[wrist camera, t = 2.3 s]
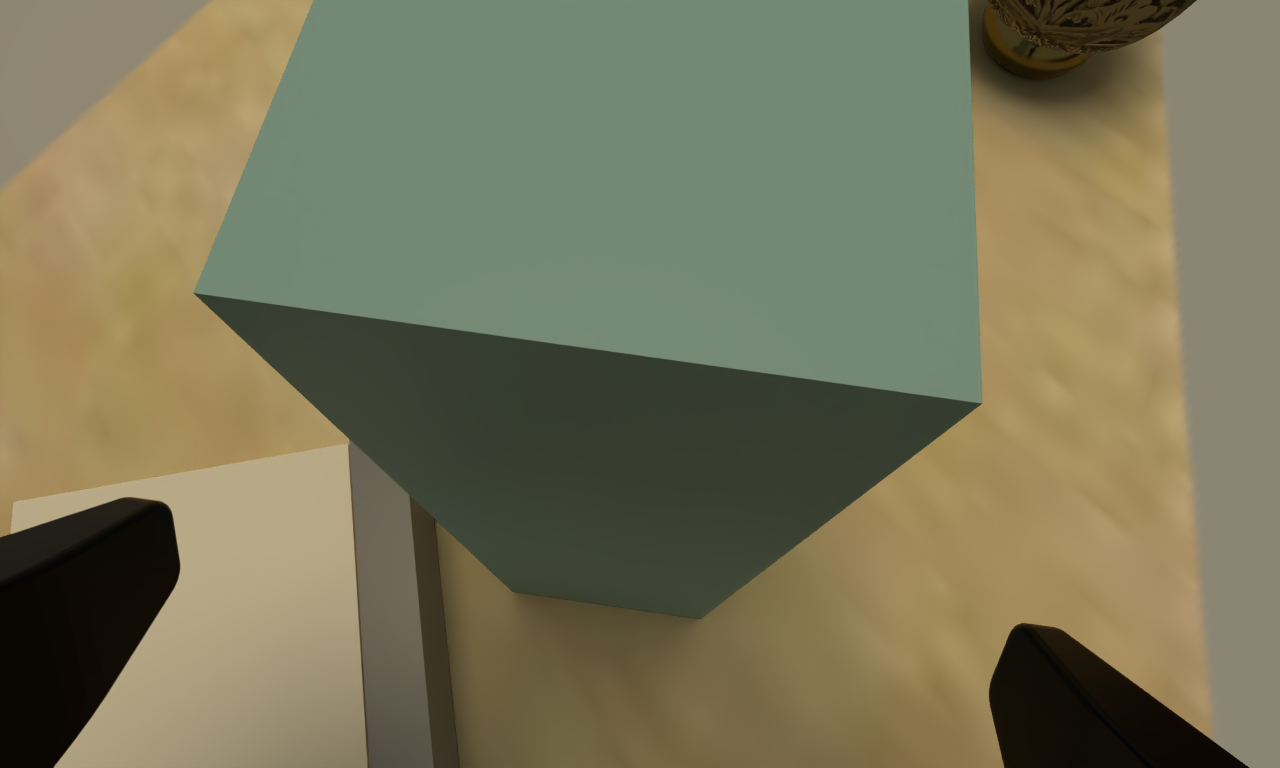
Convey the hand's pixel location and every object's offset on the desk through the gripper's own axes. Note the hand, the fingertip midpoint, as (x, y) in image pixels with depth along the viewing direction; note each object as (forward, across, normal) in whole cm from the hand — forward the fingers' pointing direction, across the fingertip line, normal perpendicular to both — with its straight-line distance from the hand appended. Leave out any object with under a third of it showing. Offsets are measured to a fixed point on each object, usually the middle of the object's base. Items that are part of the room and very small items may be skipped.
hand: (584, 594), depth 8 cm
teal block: (+10, 0, +5) cm, 11 cm away
